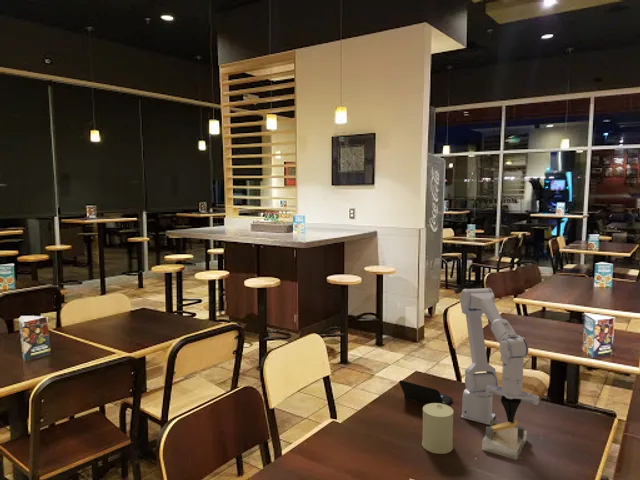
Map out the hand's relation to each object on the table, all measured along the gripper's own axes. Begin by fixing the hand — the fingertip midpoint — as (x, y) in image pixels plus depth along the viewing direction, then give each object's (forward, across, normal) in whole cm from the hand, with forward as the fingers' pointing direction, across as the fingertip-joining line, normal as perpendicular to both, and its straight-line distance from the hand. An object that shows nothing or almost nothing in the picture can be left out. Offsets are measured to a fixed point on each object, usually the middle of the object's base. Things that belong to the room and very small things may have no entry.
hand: (510, 420), depth 144 cm
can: (+8, -18, -12) cm, 23 cm away
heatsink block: (+8, -2, 0) cm, 8 cm away
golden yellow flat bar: (+3, -2, 0) cm, 4 cm away
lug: (+5, +2, +3) cm, 6 cm away
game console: (+9, -33, +15) cm, 37 cm away
